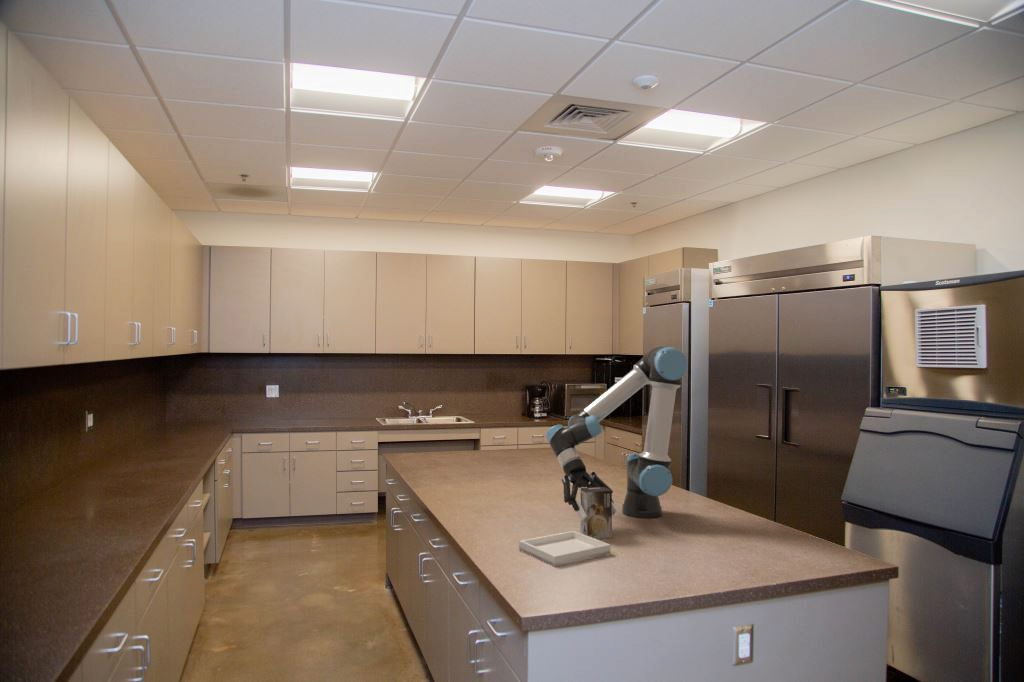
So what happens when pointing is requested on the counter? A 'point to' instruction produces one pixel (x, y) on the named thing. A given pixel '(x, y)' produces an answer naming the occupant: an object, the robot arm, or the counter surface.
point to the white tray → (564, 548)
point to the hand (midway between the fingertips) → (599, 515)
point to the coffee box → (597, 512)
